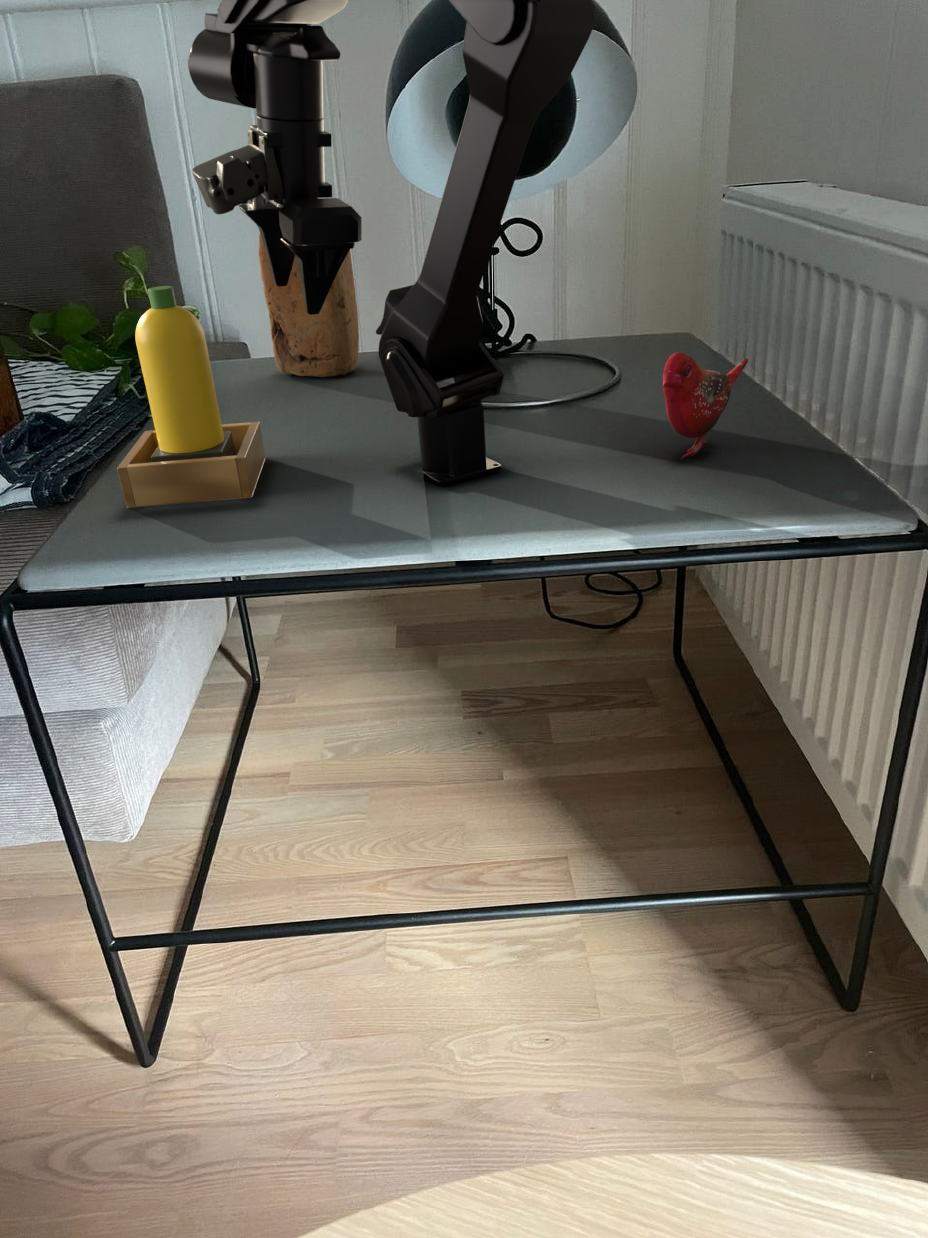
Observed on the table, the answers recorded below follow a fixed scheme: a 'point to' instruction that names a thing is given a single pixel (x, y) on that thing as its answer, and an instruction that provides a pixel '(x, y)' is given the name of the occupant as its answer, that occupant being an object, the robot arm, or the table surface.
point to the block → (312, 323)
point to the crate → (193, 471)
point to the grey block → (218, 451)
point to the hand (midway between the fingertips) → (296, 299)
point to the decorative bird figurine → (695, 396)
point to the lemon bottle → (177, 376)
